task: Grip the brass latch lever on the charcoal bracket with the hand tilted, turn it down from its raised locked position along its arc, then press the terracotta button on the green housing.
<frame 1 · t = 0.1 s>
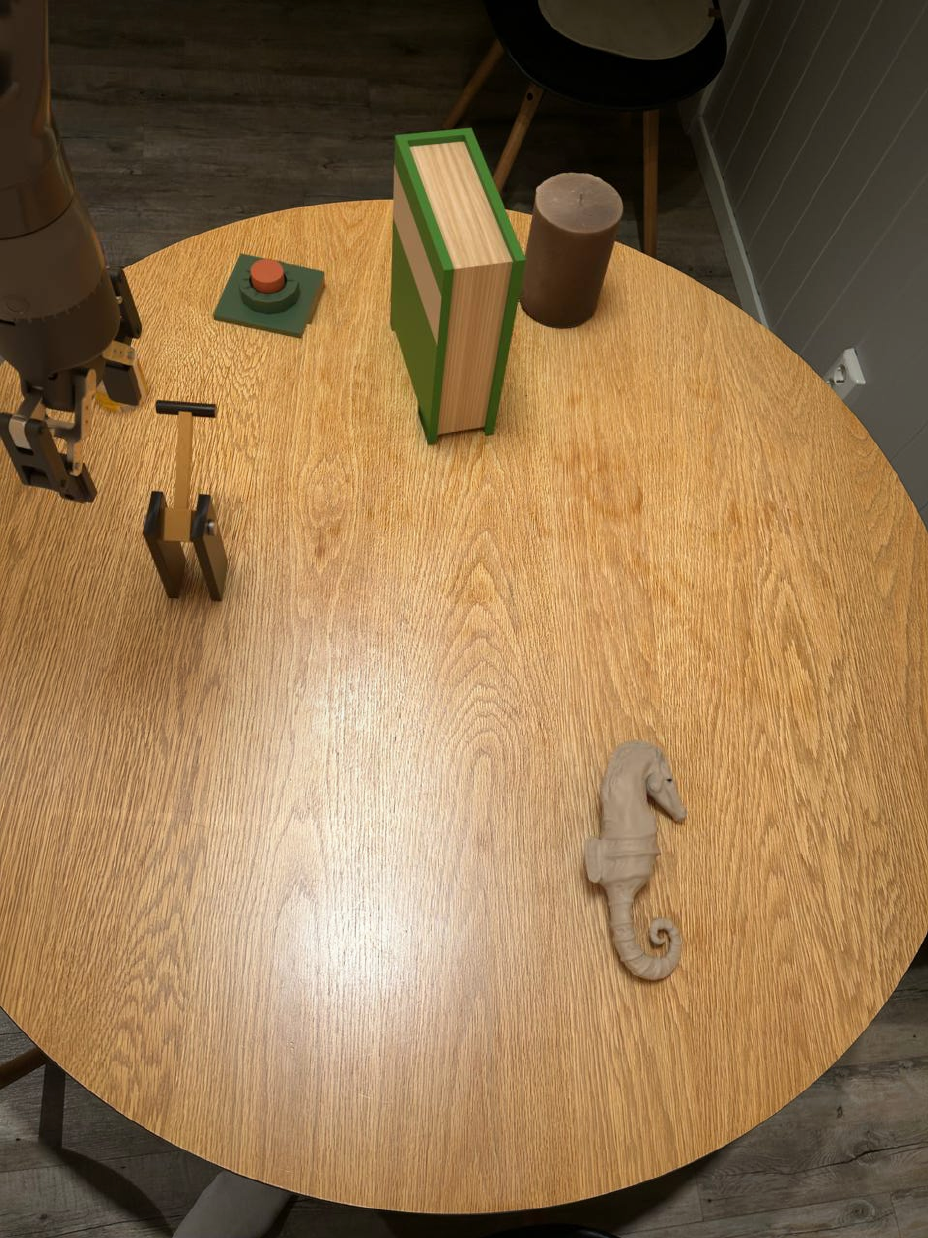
hand: (104, 447, 65), 27 cm above the table, tool pointing down, fingers open, 8 cm apart
pillar candle: (556, 299, 113), on the table
button: (267, 276, 104), point 4 cm above the table, slide at 0.1 cm
button box: (271, 306, 108), on the table
supplement bottle: (125, 402, 100), on the table
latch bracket: (200, 586, 91), on the table
latch: (183, 471, 81), point 13 cm above the table, hinge at 30.0°
hardback book: (440, 378, 106), on the table
seahorse: (634, 860, 83), on the table
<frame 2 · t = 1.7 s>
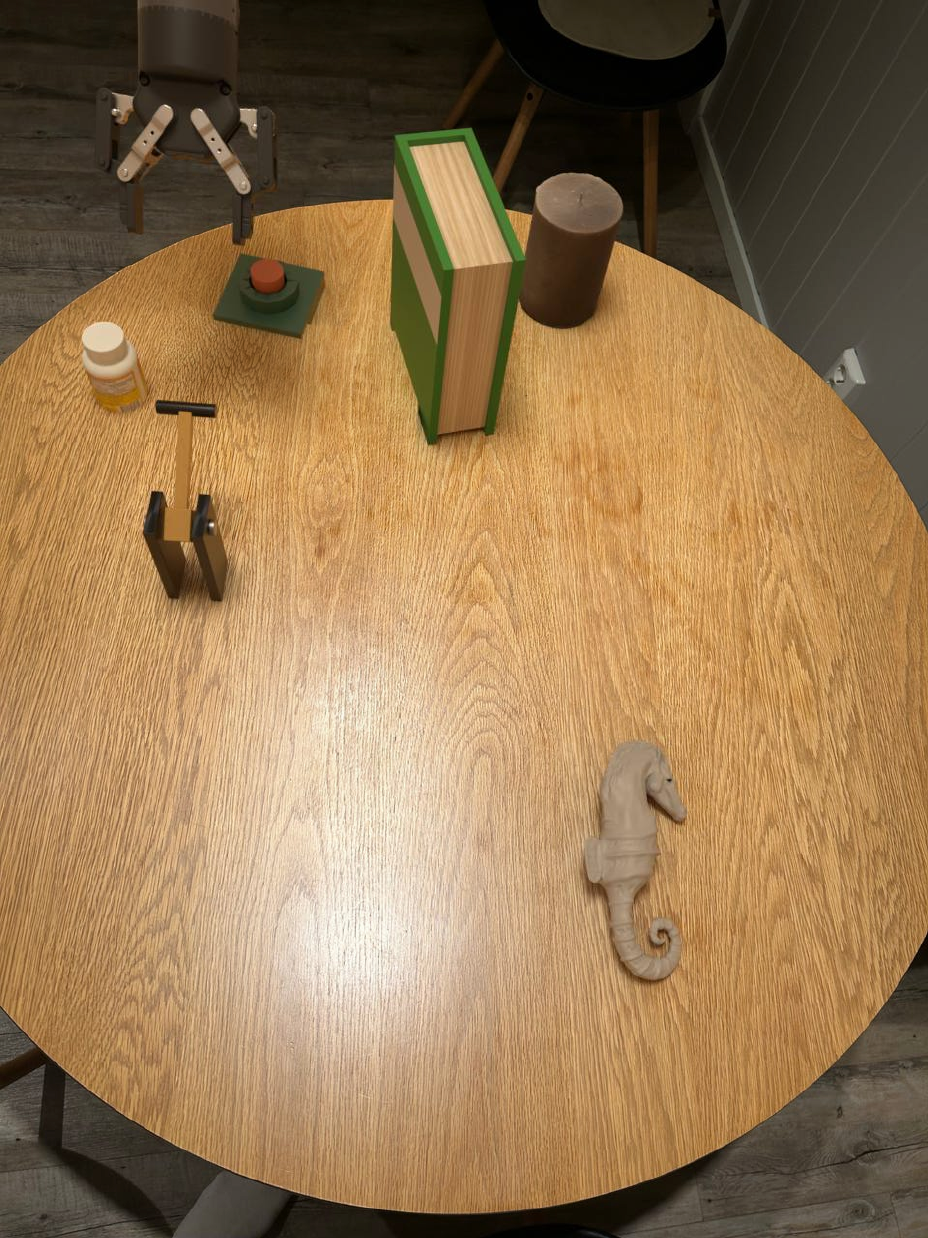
hand: (187, 239, 78), 25 cm above the table, tool tilted 45°, fingers open, 8 cm apart
nothing on the table moved.
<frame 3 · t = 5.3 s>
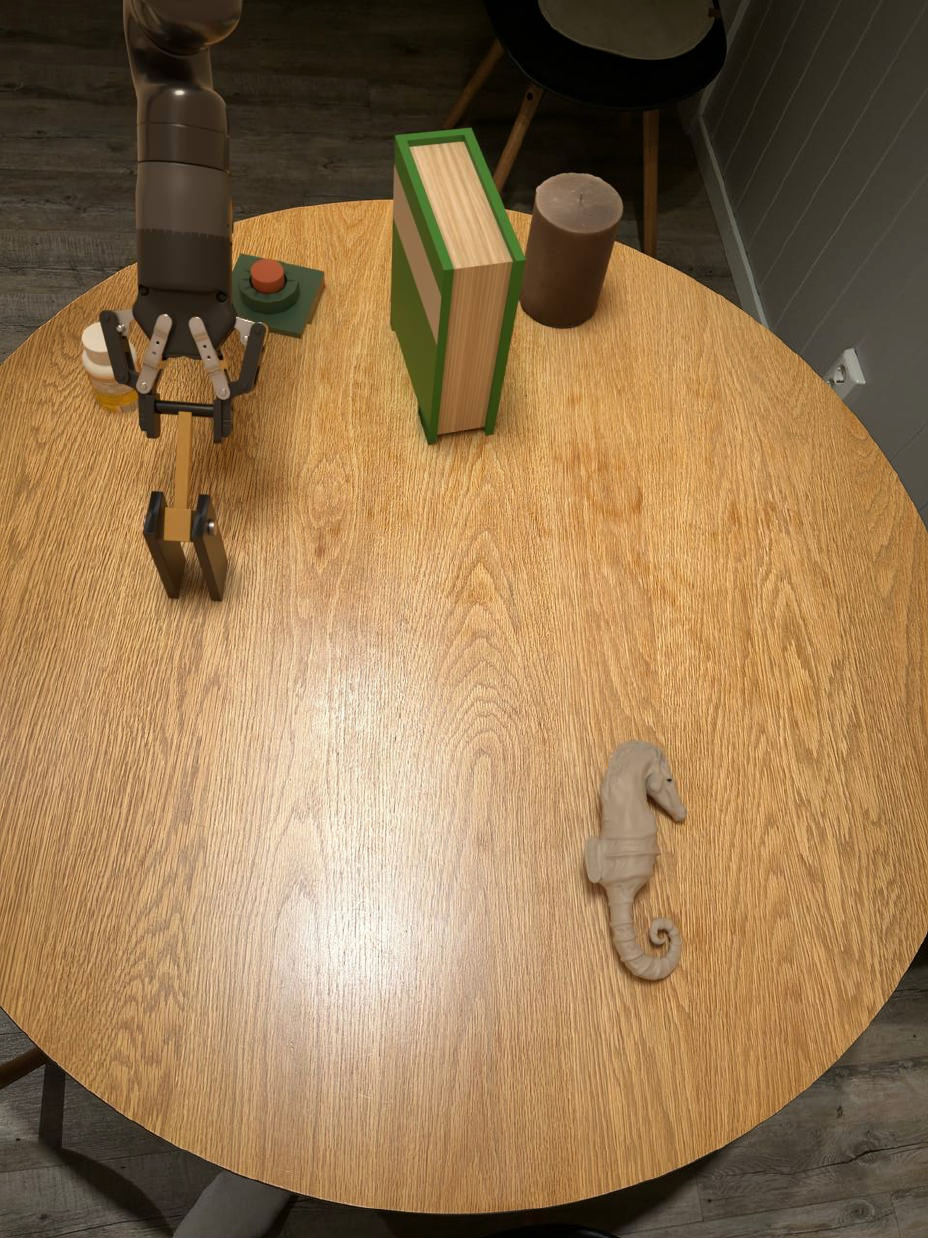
hand: (187, 439, 81), 14 cm above the table, tool tilted 45°, fingers closed on latch, 5 cm apart
latch: (183, 471, 81), point 13 cm above the table, hinge at 30.0°, touching gripper
everything else where it was.
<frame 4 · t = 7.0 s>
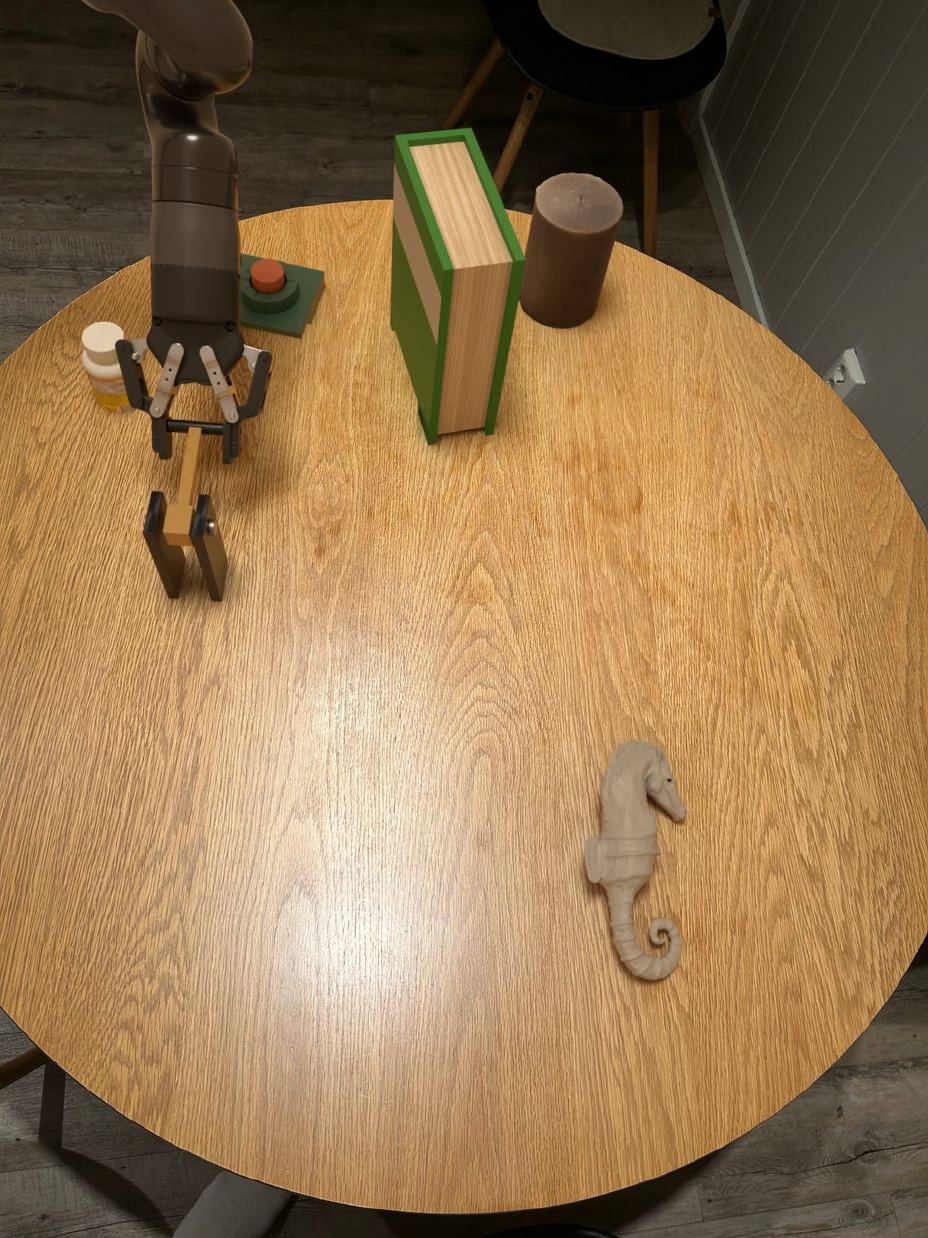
hand: (197, 460, 86), 10 cm above the table, tool tilted 45°, fingers closed on latch, 5 cm apart
latch: (188, 479, 83), point 11 cm above the table, hinge at 4.9°, touching gripper
everything else where it was.
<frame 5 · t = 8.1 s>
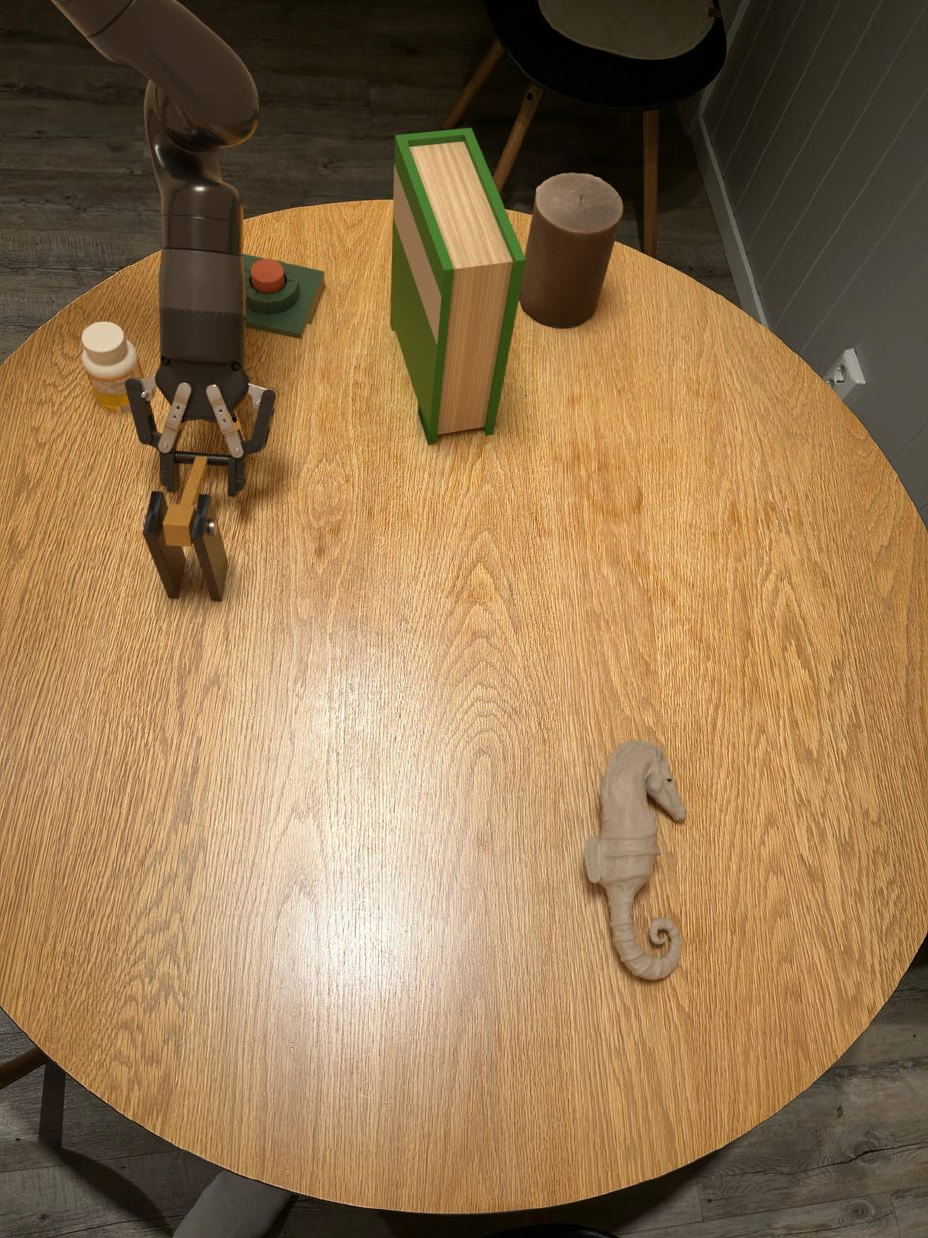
hand: (203, 492, 89), 5 cm above the table, tool tilted 45°, fingers closed on latch, 5 cm apart
latch: (191, 493, 84), point 10 cm above the table, hinge at -18.6°, touching gripper
everything else where it was.
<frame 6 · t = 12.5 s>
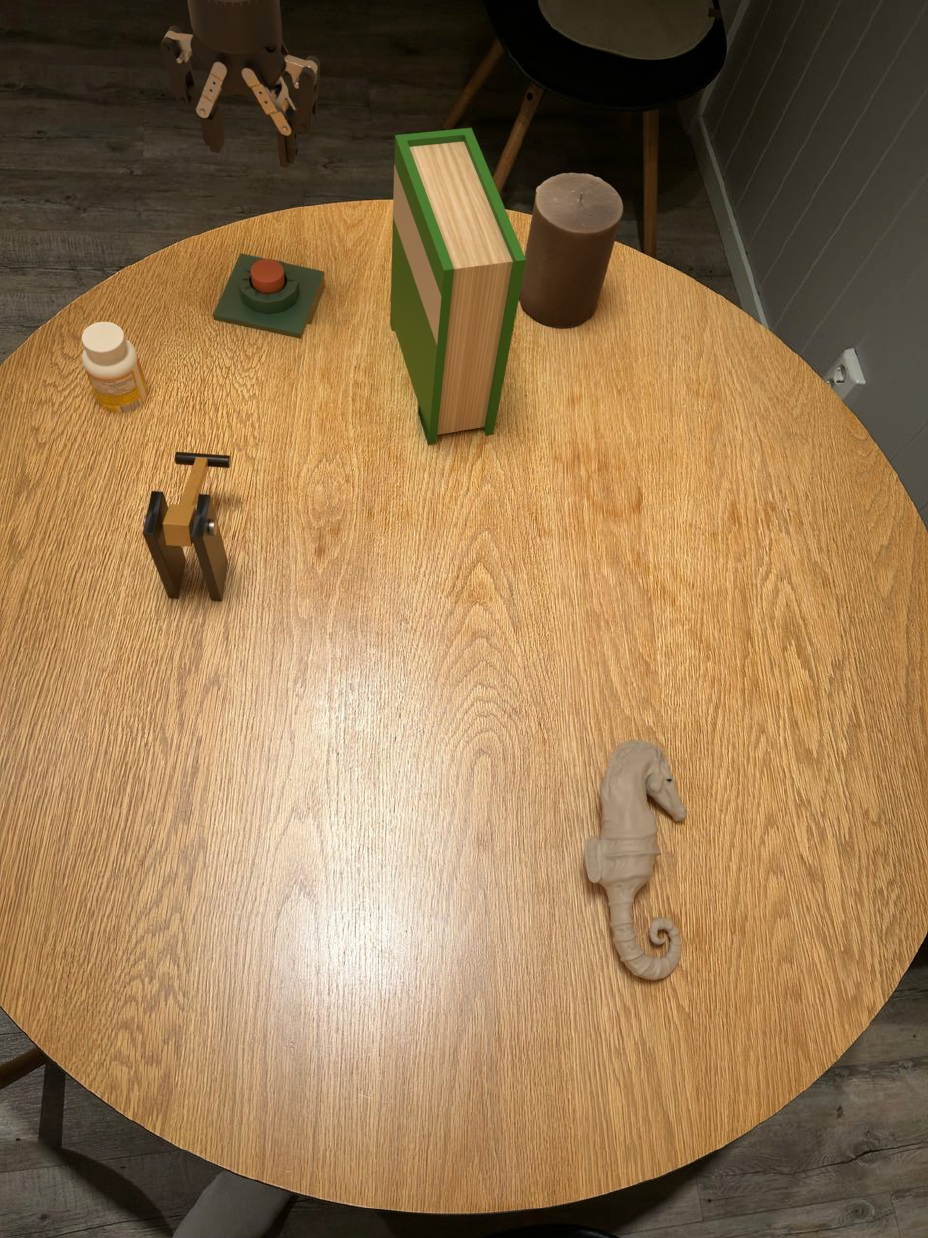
hand: (252, 154, 91), 20 cm above the table, tool pointing down, fingers open, 6 cm apart
latch: (191, 493, 84), point 9 cm above the table, hinge at -19.3°
everything else where it was.
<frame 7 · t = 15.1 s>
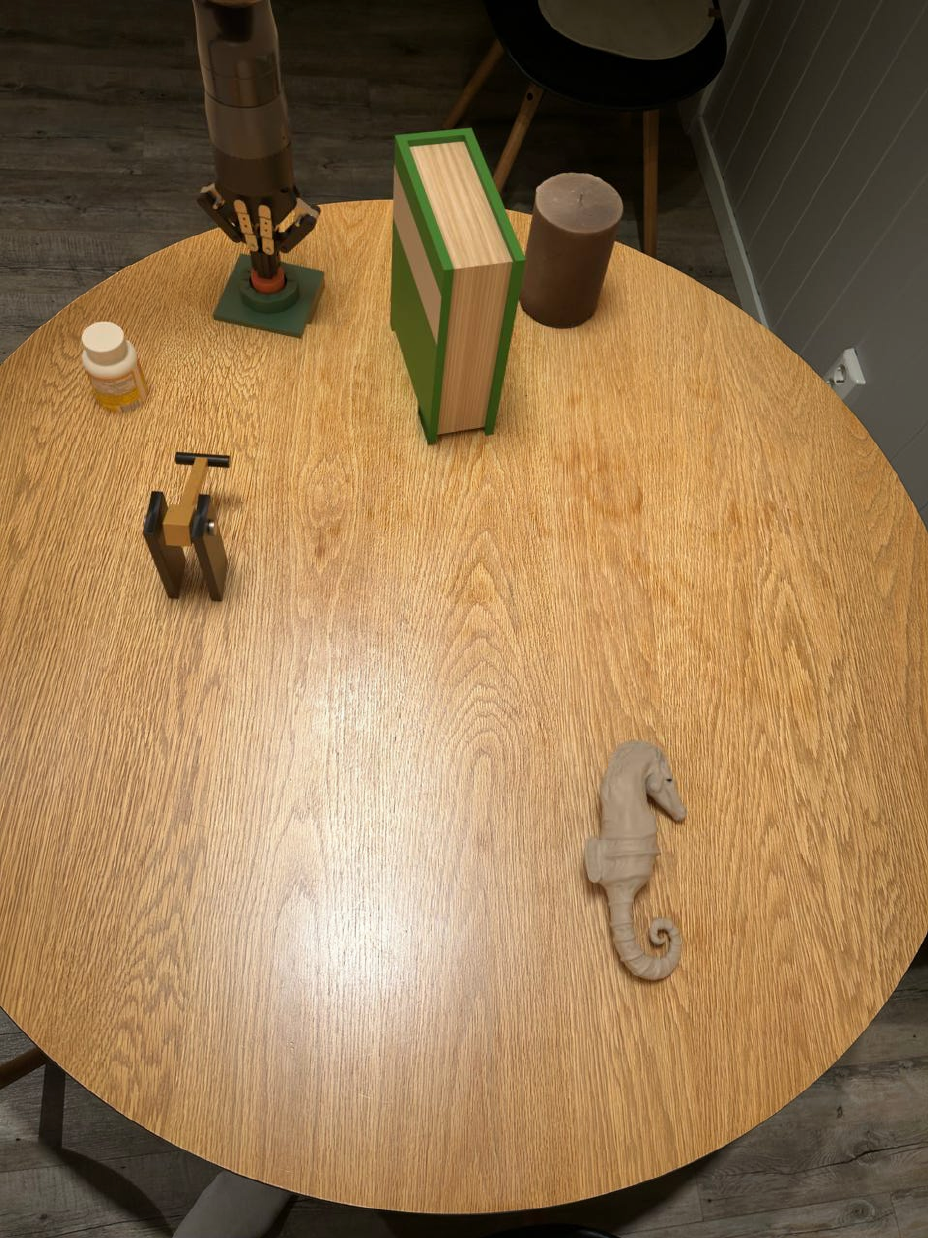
hand: (267, 272, 104), 5 cm above the table, tool pointing down, fingers closed
button: (268, 278, 104), point 4 cm above the table, slide at -0.2 cm, touching gripper
everything else where it was.
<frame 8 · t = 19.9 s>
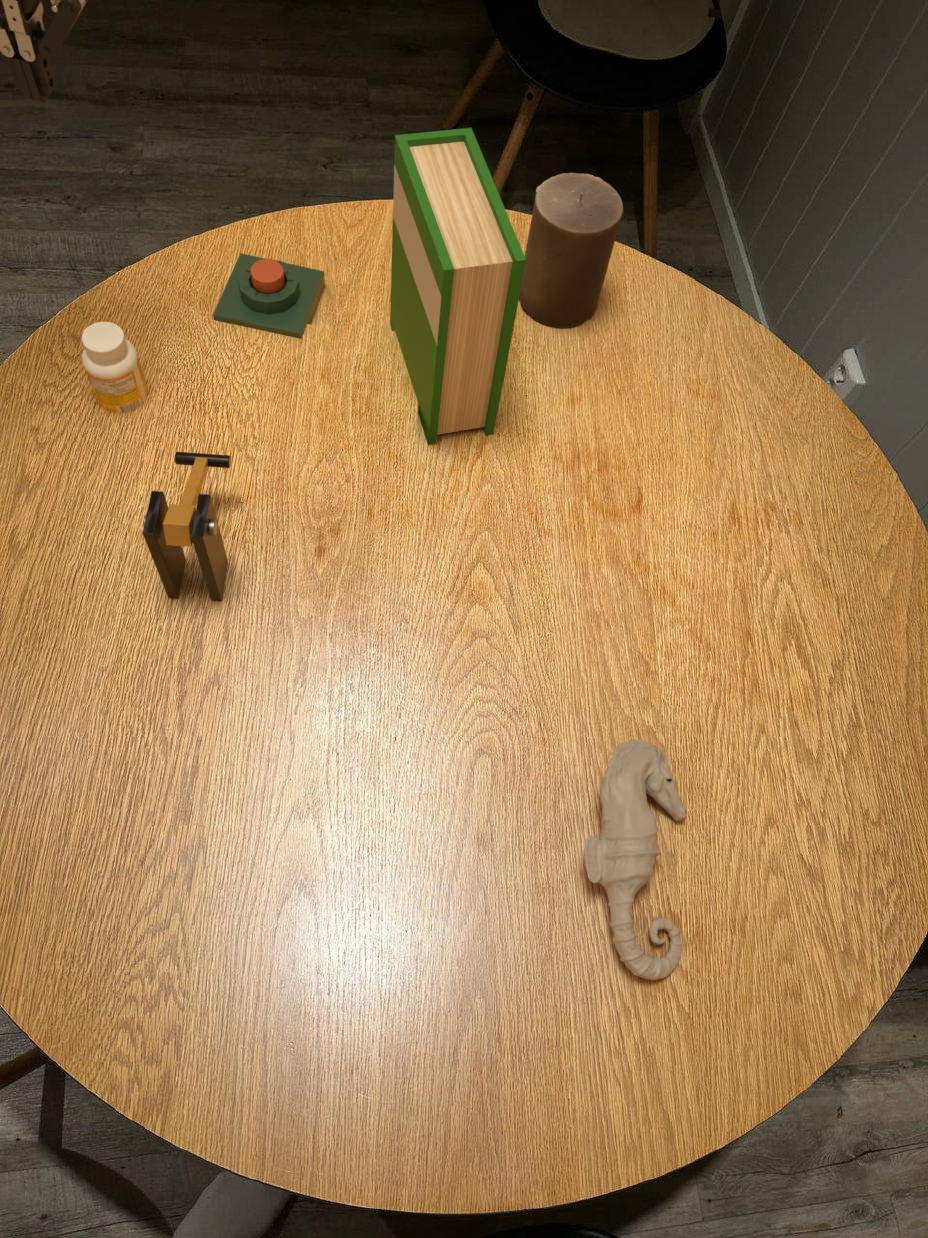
hand: (40, 95, 78), 29 cm above the table, tool pointing down, fingers closed
button: (267, 276, 104), point 4 cm above the table, slide at 0.1 cm
everything else where it was.
at the end: latch at -19° (first picture: +30°); button pushed in 1.1 cm at the most during the clip, back to where it started at the end; button slide at 0.1 cm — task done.
